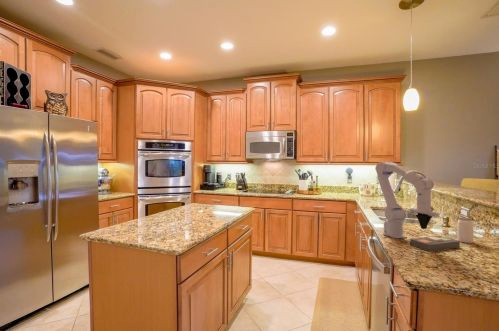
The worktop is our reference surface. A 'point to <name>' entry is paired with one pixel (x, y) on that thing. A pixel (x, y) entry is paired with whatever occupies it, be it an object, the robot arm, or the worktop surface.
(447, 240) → the sage key
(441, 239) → the cream key
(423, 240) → the terracotta key
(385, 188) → the robot arm
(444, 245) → the keypad
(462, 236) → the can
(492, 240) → the worktop surface
